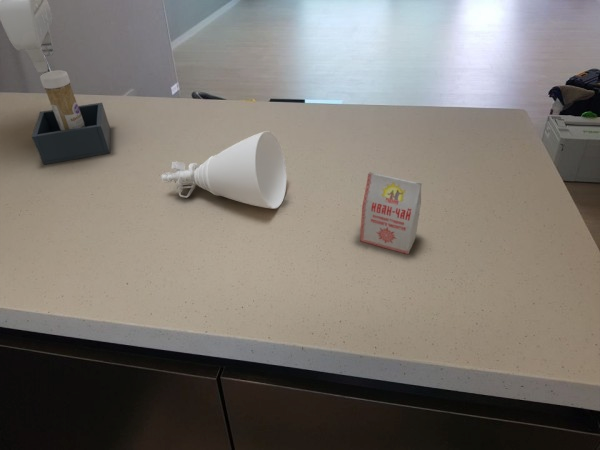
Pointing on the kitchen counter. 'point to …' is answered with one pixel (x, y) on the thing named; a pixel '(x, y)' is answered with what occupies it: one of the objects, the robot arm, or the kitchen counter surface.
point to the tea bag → (390, 212)
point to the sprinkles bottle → (62, 99)
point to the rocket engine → (239, 172)
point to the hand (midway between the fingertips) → (46, 62)
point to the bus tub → (72, 136)
